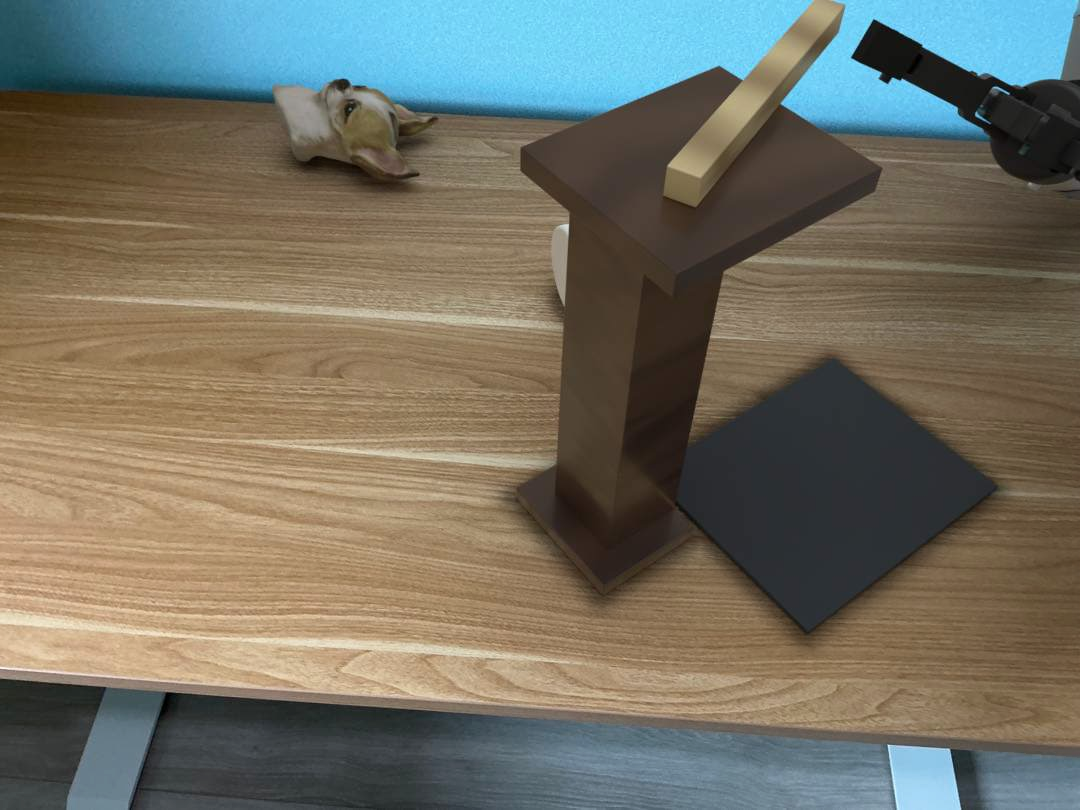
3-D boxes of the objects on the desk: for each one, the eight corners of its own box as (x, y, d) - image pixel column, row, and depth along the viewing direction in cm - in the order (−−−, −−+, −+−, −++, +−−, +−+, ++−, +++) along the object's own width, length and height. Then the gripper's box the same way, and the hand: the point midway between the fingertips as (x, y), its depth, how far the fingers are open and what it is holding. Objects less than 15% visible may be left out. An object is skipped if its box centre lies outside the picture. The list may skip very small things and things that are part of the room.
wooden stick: (810, 24, 60) (817, -5, 58) (838, 33, 59) (846, 3, 58) (662, 196, 48) (666, 165, 47) (695, 208, 48) (701, 177, 46)
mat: (996, 489, 73) (998, 485, 72) (807, 634, 64) (808, 631, 64) (832, 360, 81) (833, 357, 81) (646, 475, 73) (646, 471, 72)
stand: (772, 499, 72) (883, 167, 50) (612, 607, 66) (660, 282, 44) (662, 398, 78) (719, 65, 56) (506, 488, 72) (503, 153, 50)
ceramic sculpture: (286, 40, 95) (440, 62, 95) (296, 118, 102) (440, 139, 102) (251, 101, 88) (417, 125, 88) (264, 181, 95) (418, 203, 95)
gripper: (1169, 264, 73) (1086, 244, 57) (901, 108, 86) (774, 57, 70) (1245, 172, 69) (1178, 124, 54) (954, 24, 82) (833, -48, 67)
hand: (949, 86), depth 62 cm, fingers open, 13 cm apart
